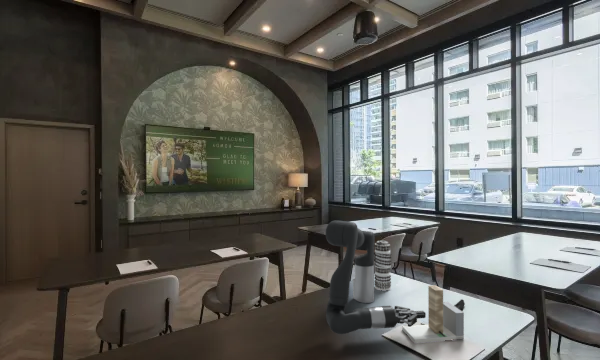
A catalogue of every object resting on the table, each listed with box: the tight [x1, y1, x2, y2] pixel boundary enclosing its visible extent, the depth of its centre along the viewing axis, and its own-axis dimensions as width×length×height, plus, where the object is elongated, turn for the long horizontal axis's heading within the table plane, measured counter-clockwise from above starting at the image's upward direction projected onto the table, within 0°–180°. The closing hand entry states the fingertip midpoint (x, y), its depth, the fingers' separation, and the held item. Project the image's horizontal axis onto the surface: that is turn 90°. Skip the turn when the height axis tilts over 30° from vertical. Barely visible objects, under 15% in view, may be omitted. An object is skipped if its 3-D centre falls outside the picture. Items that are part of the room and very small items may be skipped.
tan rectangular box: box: [427, 284, 445, 337], centre depth 119 cm, size 3×8×16 cm, turn 7°
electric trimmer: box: [453, 298, 466, 311], centre depth 142 cm, size 4×16×3 cm, turn 139°
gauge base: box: [401, 301, 465, 344], centre depth 121 cm, size 19×10×10 cm, turn 97°
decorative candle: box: [374, 240, 393, 292], centre depth 170 cm, size 9×9×25 cm
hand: (424, 314), depth 120 cm, fingers closed
